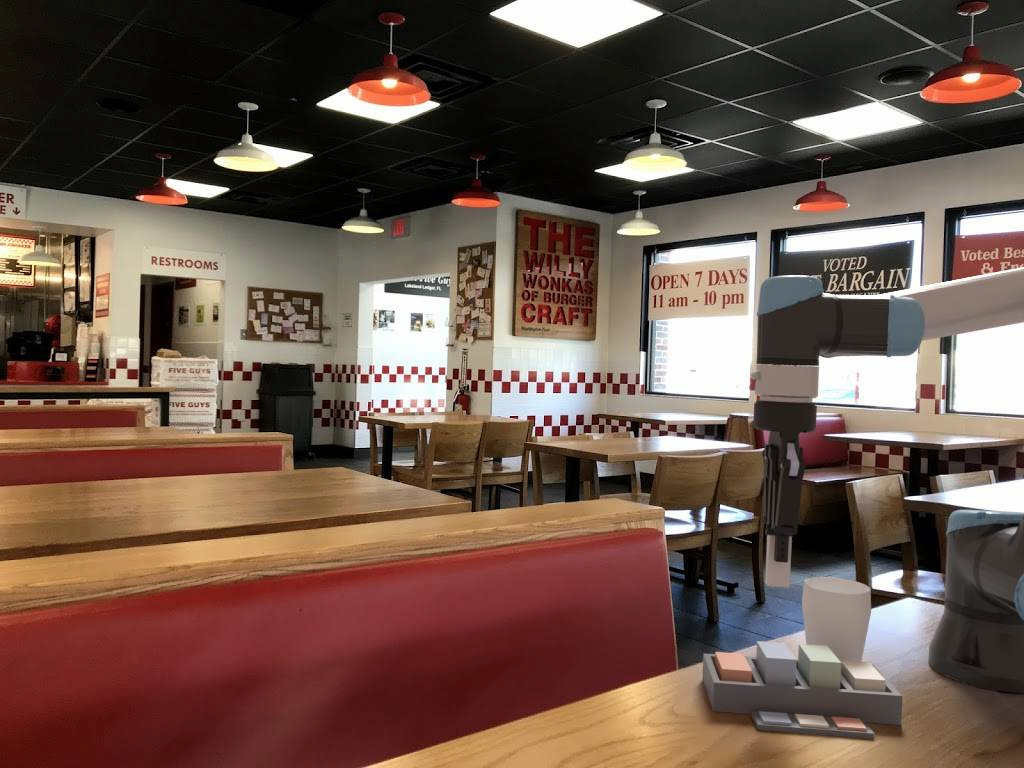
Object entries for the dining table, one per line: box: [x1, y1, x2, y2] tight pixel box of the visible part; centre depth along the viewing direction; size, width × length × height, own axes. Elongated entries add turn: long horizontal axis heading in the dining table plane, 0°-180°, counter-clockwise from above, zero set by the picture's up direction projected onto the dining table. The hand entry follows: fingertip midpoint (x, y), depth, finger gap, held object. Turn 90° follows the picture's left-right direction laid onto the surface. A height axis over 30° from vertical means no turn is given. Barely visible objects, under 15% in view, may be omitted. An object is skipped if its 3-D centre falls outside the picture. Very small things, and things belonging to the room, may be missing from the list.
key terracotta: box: [714, 651, 752, 683], centre depth 102 cm, size 4×6×4 cm, turn 174°
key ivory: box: [840, 660, 886, 692], centre depth 100 cm, size 4×6×4 cm, turn 174°
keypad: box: [702, 653, 903, 726], centre depth 101 cm, size 22×10×4 cm, turn 84°
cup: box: [801, 576, 872, 662], centre depth 112 cm, size 9×9×12 cm
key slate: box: [755, 640, 798, 686], centre depth 101 cm, size 4×6×4 cm, turn 174°
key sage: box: [797, 643, 841, 689], centre depth 101 cm, size 4×6×4 cm, turn 174°
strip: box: [751, 711, 875, 740], centre depth 94 cm, size 13×4×1 cm, turn 84°
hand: (777, 585), depth 101 cm, fingers closed
